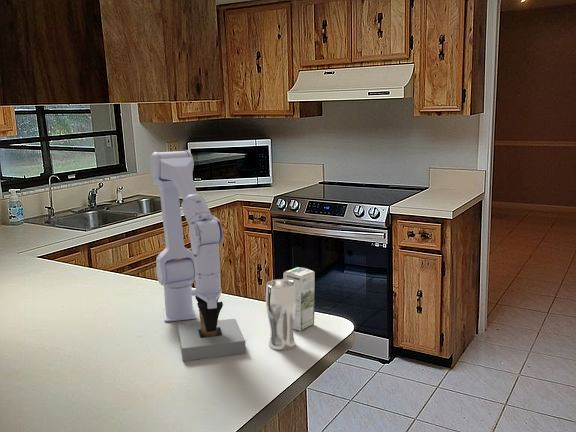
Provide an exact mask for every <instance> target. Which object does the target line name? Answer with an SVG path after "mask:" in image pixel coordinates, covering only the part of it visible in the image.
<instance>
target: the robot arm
mask: <svg viewBox="0 0 576 432" xmlns="http://www.w3.org/2000/svg"><path fill="white" fill-rule="evenodd" d="M193 157H194V156H193V154H192V153H191V151H189V150H188V149H185V150H180V151H179V150H177V151H176V150H175V151H163V152H162V151H161V152H160V151H159V152H157V151H154V152H152V154H151V155H150V159H149V170H150V177H151V181H152V182H151V184H152V185H155V186H157V187H158V191H159V196H160V197H159V198H160V207H161V214H162V216H161V217H162V224H163V233H164V243H165V248H164V249H163V250H162V251H161V252H160V253H158V255H157V256H156V261H155V262H156V266H155V272H156V275H155V276H156V279H157V282H158V283H159V284H160V285H161V286H163V291H164V293H163V295H164V296H163V297H164V307H163V315H164V317H163V319H164V322H165V323H167V322H176V321H177V322H179V321H184V320H194V319H196V318H197V317H196V313H195V309H194V306H193V304H194V303H193V297H195V299H196V301H197V302H196V303H197V304H196V306H197V308H198V310H199V309H200V311H201V313H202V315H203V319H204V324H205V328H206V331H207V332H212V331H216V328H217V322H218V320H219V315H220V312H221V310H222V309H223V306H224V304H223V301H219V299H220V297H221V295H222V293H223V291H222V287H221V286H222V285H221V262H220V261H221V260H220V244H221V243H222V242H223V239H224V230H223V226H222V223H221V220H220V219H219V218H217V217H216V216H215V215H212V213H211V211H210V210H211V209H210V208H209V206H208V203H207V202H206V199H205V197H204V196H203V195H200V194H198V192H197V189H196V186H195V183H194V179H193V173H194V172H193V171H194V166H195V165H194V164H195V162H194V161H195V160H194V158H193ZM180 197H181V199H182V202H181V203H180ZM181 210H182V212H183V215H184V217H185V220H186V222H187V226H189V227H188V238H189V242H190V247H191V249H189V248H187V247H185V241H184V231H183V230H184V229H183V221H182V213H181ZM194 281H195V282H194ZM194 283H195V289H192V287H193V286H192V285H193V284H194Z"/></svg>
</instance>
